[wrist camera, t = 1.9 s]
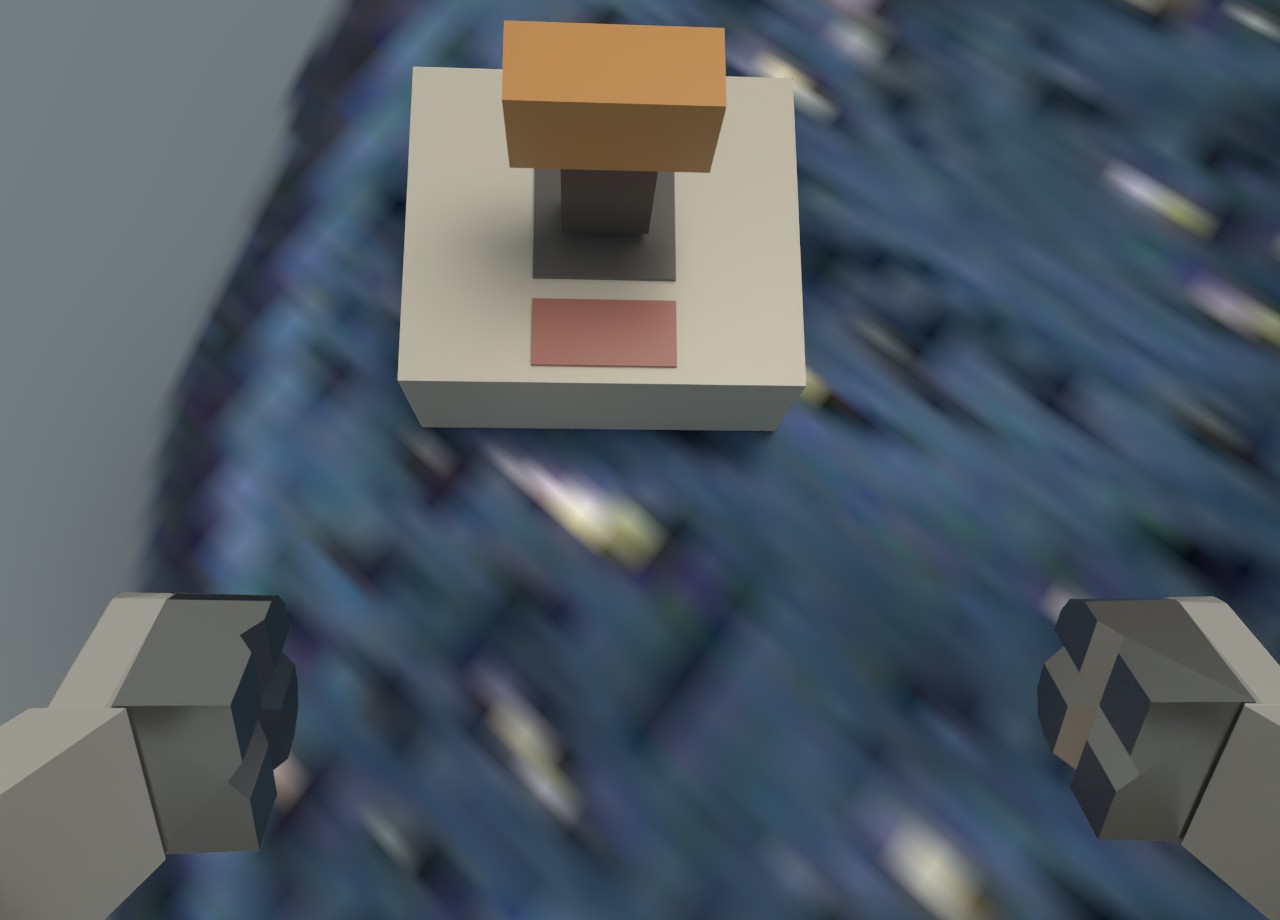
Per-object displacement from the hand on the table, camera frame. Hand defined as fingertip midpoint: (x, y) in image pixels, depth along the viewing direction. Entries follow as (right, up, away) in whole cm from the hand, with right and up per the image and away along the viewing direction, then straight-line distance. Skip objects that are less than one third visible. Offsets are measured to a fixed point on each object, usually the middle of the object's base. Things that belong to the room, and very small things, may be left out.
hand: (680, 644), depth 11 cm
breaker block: (-2, +9, +33) cm, 34 cm away
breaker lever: (-2, +10, +27) cm, 29 cm away
